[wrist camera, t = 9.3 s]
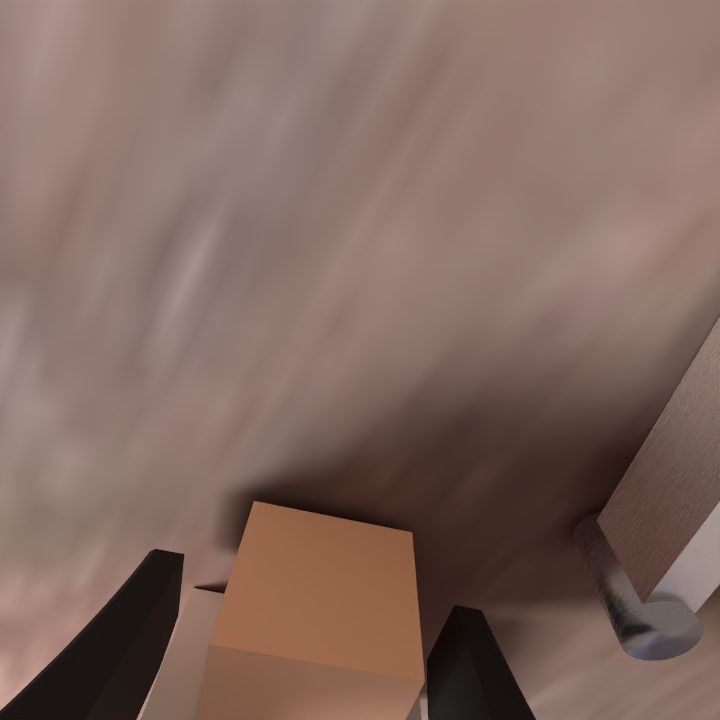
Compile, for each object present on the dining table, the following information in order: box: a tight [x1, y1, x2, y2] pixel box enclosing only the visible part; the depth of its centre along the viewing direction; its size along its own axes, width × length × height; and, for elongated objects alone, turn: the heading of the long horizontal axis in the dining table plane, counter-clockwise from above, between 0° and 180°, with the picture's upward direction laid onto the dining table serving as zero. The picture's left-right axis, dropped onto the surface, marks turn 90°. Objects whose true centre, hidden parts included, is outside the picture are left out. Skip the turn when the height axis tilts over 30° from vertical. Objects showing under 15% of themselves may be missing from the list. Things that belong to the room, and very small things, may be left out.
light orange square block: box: [197, 501, 425, 720], centre depth 10 cm, size 4×4×3 cm
